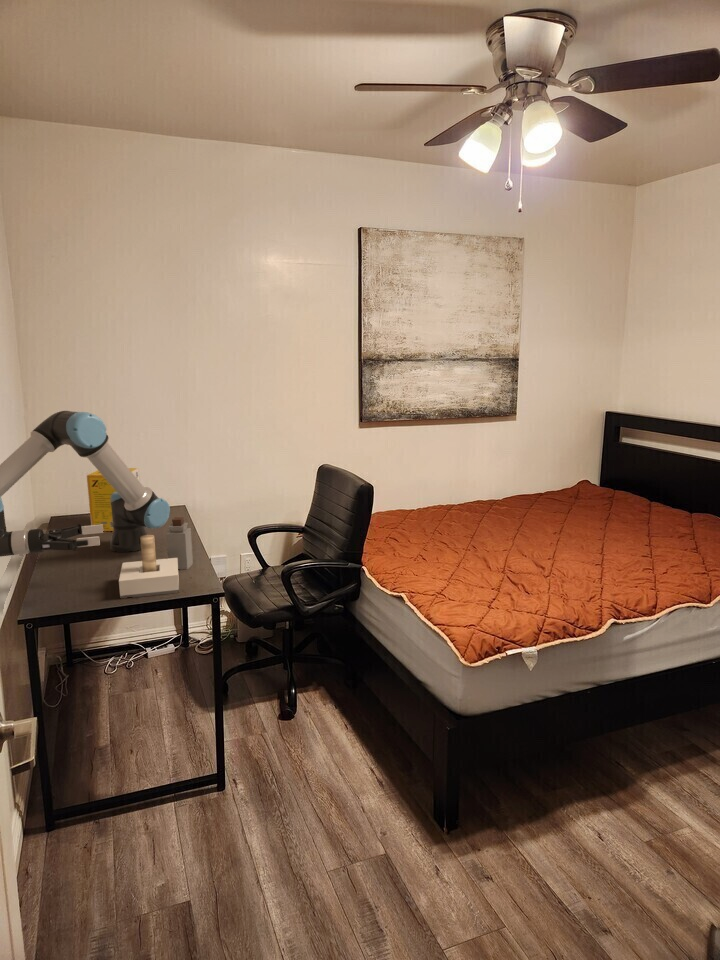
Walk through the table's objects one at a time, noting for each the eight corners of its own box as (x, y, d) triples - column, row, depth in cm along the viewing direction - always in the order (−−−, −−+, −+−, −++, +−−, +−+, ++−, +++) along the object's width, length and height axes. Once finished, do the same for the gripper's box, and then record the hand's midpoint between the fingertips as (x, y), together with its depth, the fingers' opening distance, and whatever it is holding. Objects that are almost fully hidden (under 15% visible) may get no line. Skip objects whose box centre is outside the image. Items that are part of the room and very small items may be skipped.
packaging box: (107, 521, 291) (103, 468, 286) (142, 522, 290) (138, 468, 285) (91, 532, 275) (86, 475, 270) (128, 532, 274) (124, 475, 269)
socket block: (124, 579, 219) (122, 562, 218) (178, 573, 224) (177, 557, 222) (120, 598, 202) (118, 580, 201) (179, 592, 207) (178, 575, 206)
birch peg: (143, 581, 214) (140, 535, 211) (157, 579, 215) (154, 534, 212) (143, 585, 210) (140, 539, 207) (157, 584, 211) (154, 538, 208)
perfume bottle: (174, 563, 235) (171, 516, 231) (192, 563, 235) (190, 516, 231) (168, 569, 228) (165, 521, 225) (187, 569, 228) (184, 521, 224)
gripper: (37, 541, 213) (105, 534, 219) (23, 566, 190) (99, 557, 196) (34, 519, 212) (103, 513, 218) (19, 542, 188) (96, 534, 194)
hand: (101, 534), depth 207 cm, fingers open, 13 cm apart
